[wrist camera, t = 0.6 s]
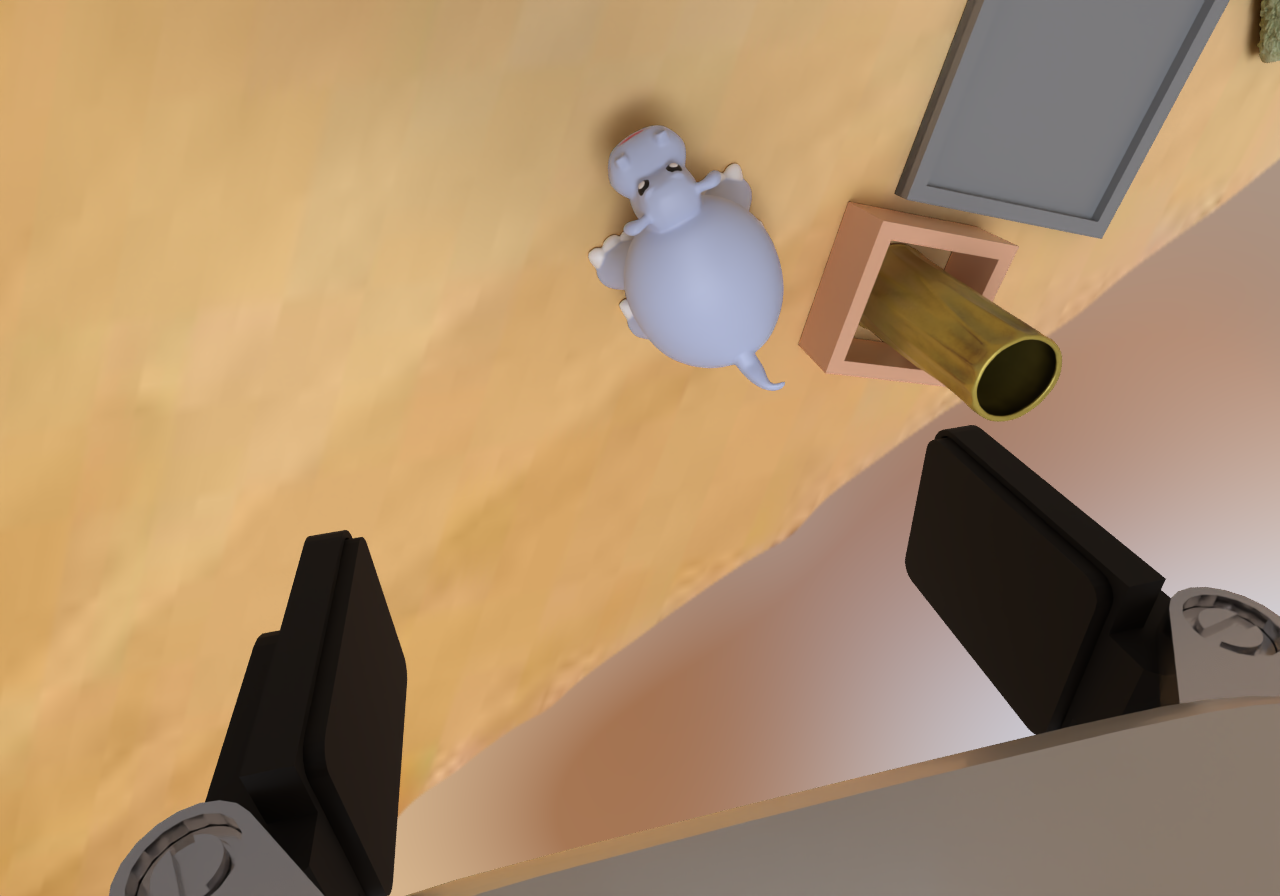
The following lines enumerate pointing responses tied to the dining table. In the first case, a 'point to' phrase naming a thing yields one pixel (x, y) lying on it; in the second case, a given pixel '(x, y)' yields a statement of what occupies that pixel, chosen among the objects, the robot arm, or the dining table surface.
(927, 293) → the vase
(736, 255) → the hippopotamus toy
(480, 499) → the dining table surface
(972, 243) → the pink square frame
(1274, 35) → the washcloth
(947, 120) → the tray
